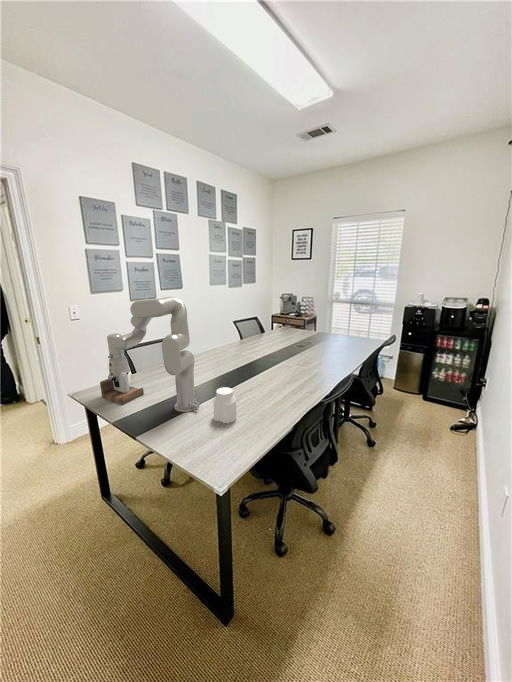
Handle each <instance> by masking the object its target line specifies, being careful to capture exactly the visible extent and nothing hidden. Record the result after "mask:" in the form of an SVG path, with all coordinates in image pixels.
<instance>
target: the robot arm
mask: <svg viewBox="0 0 512 682" xmlns="http://www.w3.org/2000/svg"><path fill="white" fill-rule="evenodd" d="M129 310H130V313H131V315H132V317H131V318H130V323H131V325H132V326H133V330H132V331H131V332H129V333H125V334H123V335H122V334H121V333H110V334H108V335H106V341H107V348H108V353H109V354H108V356H107V359H109V360H108V372H109V374H108V376H107V379H111V380H113V381H114V385H115V387H118V388H119V387H120V386H119V381H118V376H120V374H121V372H125V373H126V374H127V375H129V373H130V372H131V368H130V366H129V360H128V358H127V356H126V355H125V350H128V349H130V348H132V347H135V346H138V345H139V344H140V343H141V342H142V341H143V339H144V338H145V336H146V335H147V327H148V325H149V324H150V322H151V320H152V319H153V318H161V317H165V316H168V315H171V318H170V331H171V332H170V334H168V335H166V336H165V337H164V338H163V339H162V342H161V351H162V353H161V354H162V358H163V366H164V369H165V371H166V372H167V373H168V374H169V375H171V376H175V377H174V378H175V392H176V393H175V394H176V395H175V396H176V403H175V404H174V406H173V407H174V410H175V411H177V412H179V413H189V412H192V411H194V410H196V409H199V408H200V406H201V402H198V401H197V398H196V395H195V394H196V393H195V392H196V391H195V374H194V371H195V355H194V353H192V352H191V351H189V350H186V348H188V347H189V345H190V343H191V341H190V339H191V337H190V331H189V324H188V323H189V322H188V310H187V306H186V305H185V303H184V302H183V301H182V300H181V299H180V298H178V297H176V296H165V297H160V298H155V299H151V298H146V299H140V300H139V299H138V300H135V301H134V302H132V303H131V305H130V309H129ZM112 376H113V377H112Z"/></svg>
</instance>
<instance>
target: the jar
mask: <svg viewBox="0 0 512 682" xmlns="http://www.w3.org/2000/svg"><path fill="white" fill-rule="evenodd" d="M215 391H216V393H215V394H216V395H215V396H214V397H213V399H212V403H213V420H214V421H216V422H219V421H220V423H222V422H223V424H224V423H228V424H231V423H234V422H235V421H236V420H237V418H236V417H238V415H237V398H236V396H235V395H234V390H233V388H230V387H226V386H223V387H219V388H217V389H216V390H215ZM235 419H236V420H235ZM234 420H235V421H234ZM230 422H231V423H230Z"/></svg>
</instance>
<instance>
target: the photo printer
mask: <svg viewBox="0 0 512 682" xmlns="http://www.w3.org/2000/svg"><path fill="white" fill-rule="evenodd" d="M128 375H129V374H128ZM128 375H127V374H126V373H125V372H121V374H120V376H118V381H119V386H120V387H119V388H118V387H115V385H114V381H113V386H114V389H115V390H117V391H120V392H123V393H126V392H128V391H129V386H130V384H129V376H128ZM112 377H113V376H112Z"/></svg>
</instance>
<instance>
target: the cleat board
mask: <svg viewBox="0 0 512 682" xmlns="http://www.w3.org/2000/svg"><path fill="white" fill-rule="evenodd" d="M99 385H100V391H101V398H102V399H105V400H108V401H111V402H115V403H117V404H121V405H126V404H128V403H131V402H132V401H135V400H136V399H138V398H141V397H142V396H144V395H145V392H144V387H140V388H138V387H134V386H130V385H129V391H128V392H126V393H123V392H120V391H117V390H115V389H114V386H113V380H111V379H109V378H107V379H104V380H101V381H99Z"/></svg>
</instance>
